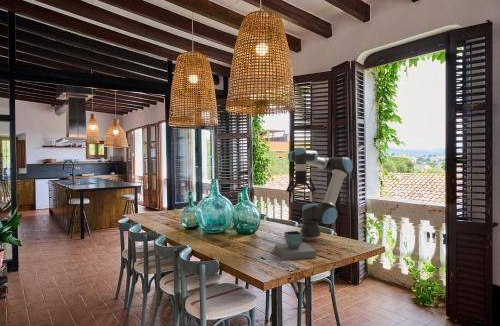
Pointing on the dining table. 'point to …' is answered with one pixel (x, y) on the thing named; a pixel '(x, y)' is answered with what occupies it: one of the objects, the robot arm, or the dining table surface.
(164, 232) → the dining table surface
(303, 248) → the plinth
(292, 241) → the flower pot
